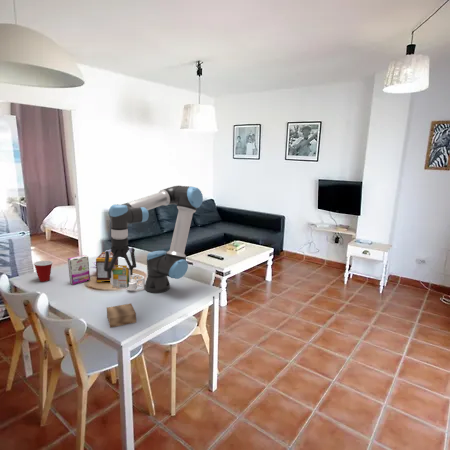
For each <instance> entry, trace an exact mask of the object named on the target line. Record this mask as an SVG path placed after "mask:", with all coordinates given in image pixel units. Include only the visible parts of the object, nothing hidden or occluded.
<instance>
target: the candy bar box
mask: <svg viewBox="0 0 450 450" xmlns="http://www.w3.org/2000/svg"><path fill="white" fill-rule="evenodd" d="M89 262H90V260H89V256H88V255H86V254H84V255H79V256H74V257H73V256H72V257H68V258H67V263H68V264H67V265H68V266H67V267H68V275H69V283H70V284H71V285H72V286H75V285H78V284H81V283H85V282H88V281H87V280H90V281H91V276H90V264H89Z"/></svg>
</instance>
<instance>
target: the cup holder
mask: <svg viewBox="0 0 450 450" xmlns="http://www.w3.org/2000/svg"><path fill="white" fill-rule="evenodd" d="M132 273H133V274H132V275H131V283H129V286H128V288H127V289H126V290H127V291H131V292H140V291H144V290H145V283H146V280H145V276H144V275H141V274H139V273H134V272H132ZM135 277H136V279H135ZM139 282H141V284H140V283H139ZM137 283H138V285H139V286H138V285H137ZM138 287H141V288H138ZM145 291H146V290H145Z"/></svg>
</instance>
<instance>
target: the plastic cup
mask: <svg viewBox="0 0 450 450" xmlns="http://www.w3.org/2000/svg"><path fill="white" fill-rule="evenodd" d="M32 263H33V265H34V268H35V271H36V274H37V278H38V280H39V282H41V283H44V282H48V281H50V280H51V279H50V278H51V274H52V265H53V263H54V261H52V260H39V261H34V262H32Z"/></svg>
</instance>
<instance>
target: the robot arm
mask: <svg viewBox="0 0 450 450" xmlns="http://www.w3.org/2000/svg"><path fill="white" fill-rule="evenodd" d="M203 201H204V197H203V192H202V191H201V189H200V188H198V187H195V186H186V185H173V186H170V187H167V188H163V189H160V190H159V191H158V192H157V193H154V194H151V195H147V196H145V197H141V198H138V199H134V200H132V201H129V202H126V203H122V204H113V205H111V206H110V207H109V209H108V215H109V216H110V227H111V228H110V230H111V240H110V241H111V248H110V249H105V250H104V252H105V263H104V271H107V272H108V278H110V282H109V283H110V285H111V286H112V285H113V272H112V268H113V266H114V263H115V261H116V259H117V257H118V258H120V257H121V258H123V257H124V260H125V262H126V265H127V267H128V268H129V283H131V279H132V277H131V275H132V274H133V273H134V272H133V270H134V269H135V268H137V263H136V256H135V250H136V249H135V248H134V247H129V238H128V237H129V231H128V230H129V229H128V228H129V225H130V224H132V225H133V224H138V223H144V222H147V221H148V220H149V215H150V214H149V211H150V210H152V209H155V208H158V207H161V206H169V205H176V208H177V210H178V212H177V216H176V220H175V225H174V230H173V233H172V238H171V243H170V248H169V250H168V251H166V250H153V251H150V252H148V253H147V255H146V272H147V277H146V280H145V291H146V292H147V293H148V292H149V293H151V294H159V293H164V292H167V291H168V290H169V289H170V287H171V285H170V284H171V283H170V280H169V278H170V279H176V280H178V279H182V278H183V277H184V276H185V275H186V273H187V272H188V269H189V264H188V261H187V260H186V257H187V255H186V254H185V250H186V246H187V243H188V242H187V241H188V237H189V233H190V229H191V228H190V227H191V225H192V224H191V223H192V220H193V215H194V213H196V212H197V209H198V208H200V207H201V206H202V204H203ZM110 252H112V253H113V257H112V260H111V262H110V265H109V267H108V261H109V255H110ZM128 252H129V253H130V259H131V260H130V259H129V257H128V255H127V253H128ZM130 261H131V262H130Z"/></svg>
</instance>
